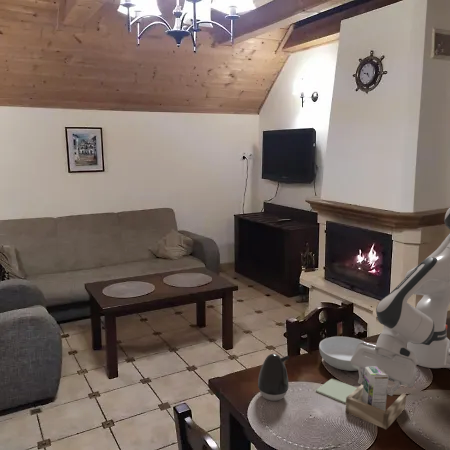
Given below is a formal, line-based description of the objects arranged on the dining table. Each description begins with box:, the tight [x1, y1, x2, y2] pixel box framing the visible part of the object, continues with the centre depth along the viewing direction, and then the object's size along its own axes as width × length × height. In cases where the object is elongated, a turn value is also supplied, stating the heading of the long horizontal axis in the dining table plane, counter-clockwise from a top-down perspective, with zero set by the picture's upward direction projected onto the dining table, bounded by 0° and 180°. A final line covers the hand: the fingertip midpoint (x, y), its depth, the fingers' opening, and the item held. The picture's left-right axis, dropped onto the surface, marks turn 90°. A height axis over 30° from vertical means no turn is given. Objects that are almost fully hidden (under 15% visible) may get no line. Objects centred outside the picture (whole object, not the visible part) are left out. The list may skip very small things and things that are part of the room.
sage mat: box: [315, 377, 358, 405], centre depth 159 cm, size 11×11×1 cm
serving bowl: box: [318, 336, 365, 372], centre depth 178 cm, size 21×21×7 cm
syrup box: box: [362, 366, 389, 411], centre depth 145 cm, size 6×6×14 cm
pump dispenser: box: [257, 353, 290, 402], centre depth 154 cm, size 10×10×15 cm
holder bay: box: [345, 384, 407, 430], centre depth 147 cm, size 15×13×5 cm
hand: (374, 389), depth 144 cm, fingers open, 8 cm apart
